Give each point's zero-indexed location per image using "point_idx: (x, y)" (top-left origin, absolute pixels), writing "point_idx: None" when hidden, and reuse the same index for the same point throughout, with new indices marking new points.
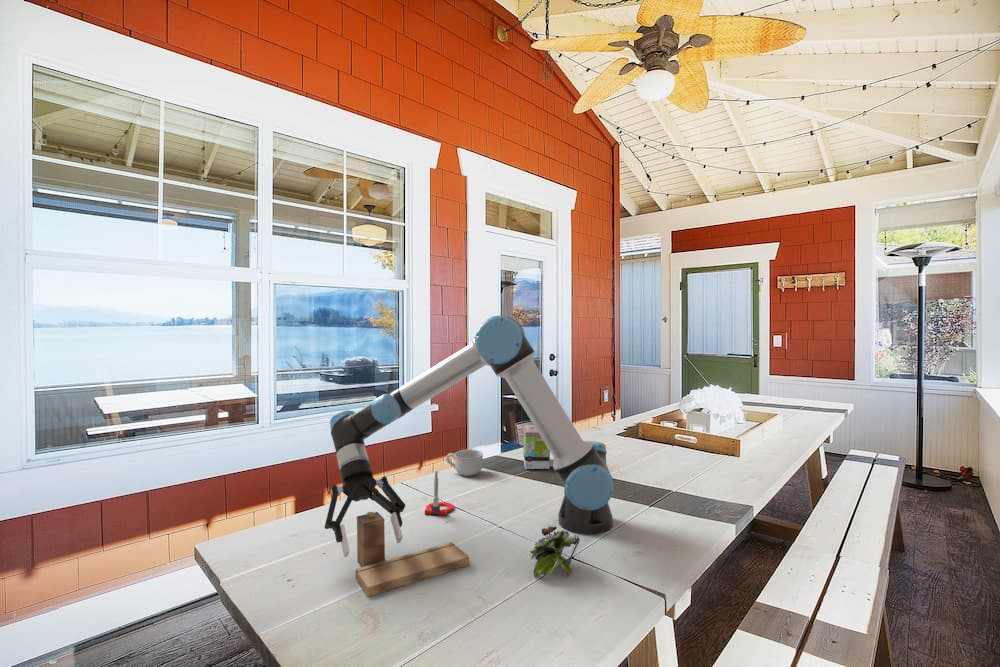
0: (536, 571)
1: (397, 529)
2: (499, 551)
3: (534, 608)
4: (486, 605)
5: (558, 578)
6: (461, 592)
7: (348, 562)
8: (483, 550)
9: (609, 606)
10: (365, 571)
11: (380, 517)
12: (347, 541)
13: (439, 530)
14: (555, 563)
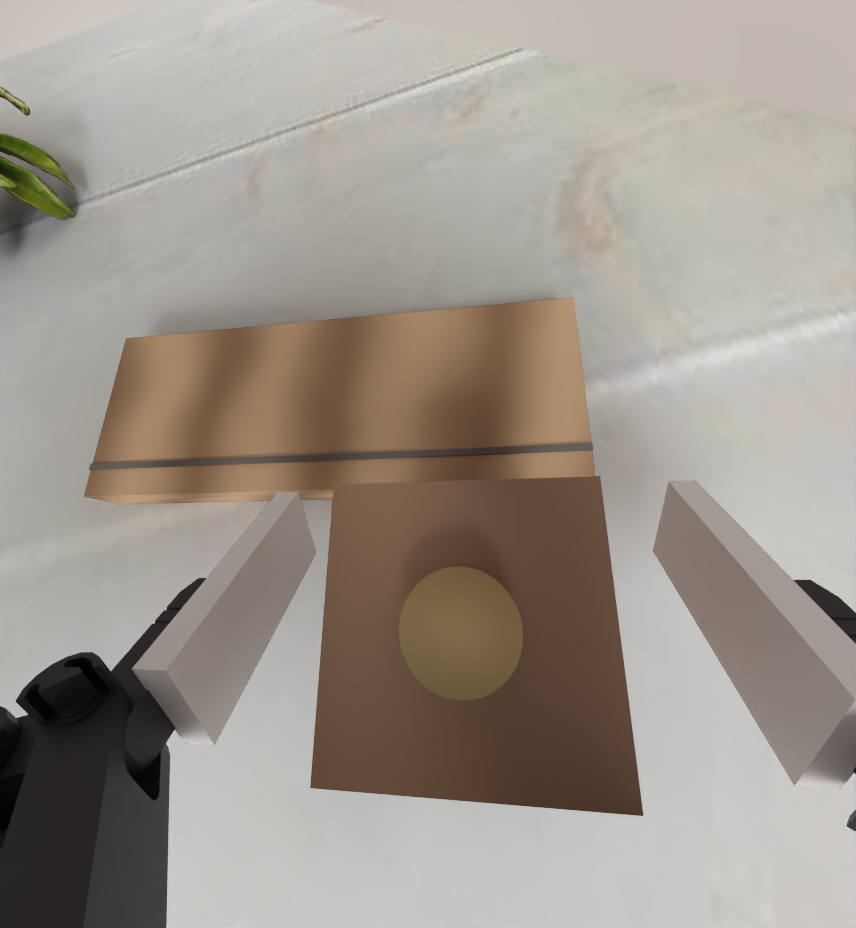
0: (58, 174)
1: (267, 531)
2: (13, 395)
3: (186, 111)
4: (265, 154)
5: None
6: (279, 226)
7: None
8: (42, 432)
9: (71, 74)
10: (551, 432)
11: (354, 547)
12: (709, 528)
13: None
14: (2, 90)
